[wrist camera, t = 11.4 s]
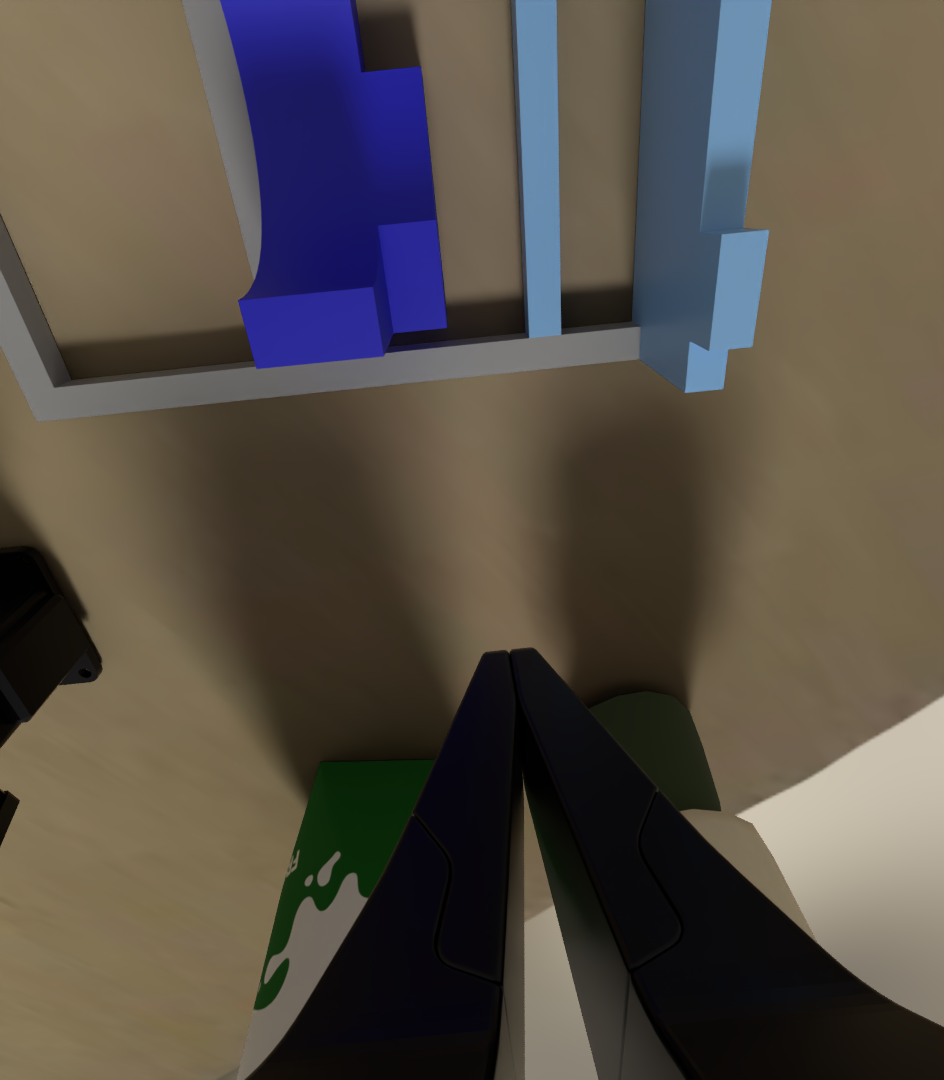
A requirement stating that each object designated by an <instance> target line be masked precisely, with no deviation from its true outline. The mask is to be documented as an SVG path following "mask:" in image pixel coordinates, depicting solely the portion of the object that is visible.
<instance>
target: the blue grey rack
mask: <svg viewBox="0 0 944 1080" xmlns="http://www.w3.org/2000/svg"><path fill="white" fill-rule="evenodd" d="M182 3H183V7H184V11H185V15H186V19H187V23H188V26H189V30H190V34H191V38H192V42H193V46H194V50H195V54H196V58H197V62H198V65H199V69H200V73H201V77H202V81H203V85H204V89H205V93H206V97H207V101H208V104H209V108H210V112H211V116H212V120H213V124H214V128H215V132H216V136H217V140H218V143H219V147H220V151H221V155H222V159H223V163H224V167H225V171H226V175H227V179H228V182H229V186H230V190H231V194H232V198H233V202H234V206H235V210H236V214H237V218H238V221H239V225H240V229H241V233H242V237H243V241H244V245H245V249H246V253H247V257H248V260H249V264H250V268H251V272H252V276H253V280H255V277H256V274H257V270H258V265H259V259H260V251H261V234H262V231H261V200H260V189H259V179H258V171H257V163H256V156H255V150H254V143H253V137H252V132H251V126H250V121H249V116H248V111H247V106H246V101H245V96H244V92H243V87H242V83H241V78H240V74H239V70H238V66H237V62H236V58H235V54H234V50H233V46H232V42H231V38H230V35H229V31H228V27H227V24H226V20H225V16H224V13H223V9H222V6H221V3H220V0H182ZM771 3H772V0H646V5H645V28H644V51H643V74H642V97H641V120H640V143H639V166H638V189H637V212H636V235H635V258H634V281H633V304H632V321H630V322H621V323H611V324H601V325H592V326H582V327H573V328H563V329H561V284H560V214H559V144H558V74H557V4H556V0H511V16H512V39H513V62H514V85H515V108H516V131H517V154H518V176H519V199H520V222H521V245H522V268H523V291H524V313H525V333H515V334H506V335H496V336H487V337H477V338H468V339H458V340H448V341H439V342H429V343H420V344H410V345H401V346H391V347H388V348H387V350H386V353H385V355H384V357H374V358H364V359H354V360H344V361H333V362H323V363H313V364H303V365H293V366H283V367H273V368H263V369H256V366H255V362H254V361H248V362H238V363H228V364H219V365H209V366H200V367H190V368H181V369H171V370H161V371H152V372H142V373H133V374H123V375H114V376H104V377H94V378H85V379H75V380H71V377H70V375H69V373H68V370H67V368H66V366H65V363H64V361H63V359H62V356H61V354H60V352H59V350H58V347H57V345H56V343H55V340H54V338H53V336H52V333H51V331H50V329H49V327H48V324H47V322H46V320H45V317H44V315H43V313H42V310H41V308H40V306H39V304H38V301H37V299H36V297H35V294H34V292H33V290H32V287H31V285H30V283H29V280H28V278H27V276H26V274H25V271H24V269H23V267H22V264H21V262H20V260H19V257H18V255H17V253H16V251H15V248H14V246H13V244H12V241H11V239H10V237H9V234H8V232H7V230H6V227H5V225H4V223H3V221H2V218H1V216H0V346H1V348H2V350H3V352H4V354H5V356H6V358H7V360H8V362H9V364H10V367H11V369H12V371H13V373H14V375H15V377H16V379H17V381H18V383H19V385H20V387H21V389H22V391H23V394H24V396H25V398H26V400H27V402H28V404H29V406H30V408H31V410H32V412H33V414H34V416H35V419H36V421H37V422H41V421H51V420H60V419H70V418H80V417H89V416H99V415H108V414H118V413H128V412H137V411H147V410H156V409H166V408H176V407H185V406H195V405H204V404H214V403H224V402H233V401H243V400H252V399H262V398H272V397H281V396H291V395H300V394H310V393H320V392H329V391H339V390H348V389H358V388H368V387H377V386H387V385H396V384H406V383H416V382H425V381H435V380H444V379H454V378H464V377H473V376H483V375H492V374H502V373H512V372H521V371H531V370H540V369H550V368H560V367H569V366H579V365H588V364H598V363H608V362H617V361H627V360H636V359H640V360H641V361H642V362H644V363H645V364H646V365H648V366H649V367H650V368H652V369H653V370H655V371H656V372H657V373H659V374H660V375H661V376H663V377H664V378H665V379H667V380H668V381H669V382H671V383H672V384H673V385H675V386H676V387H678V388H679V389H680V390H682V391H683V392H684V393H690V392H699V391H709V390H719V389H723V387H724V379H725V371H726V363H727V355H728V349H737V348H747V347H752V345H753V338H754V332H755V325H756V318H757V311H758V304H759V297H760V290H761V283H762V276H763V269H764V262H765V256H766V249H767V242H768V235H769V230H768V229H748V228H743V227H744V219H745V211H746V203H747V195H748V187H749V179H750V171H751V163H752V155H753V147H754V139H755V131H756V123H757V115H758V107H759V99H760V91H761V83H762V75H763V67H764V59H765V51H766V43H767V35H768V27H769V19H770V11H771Z"/></svg>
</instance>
